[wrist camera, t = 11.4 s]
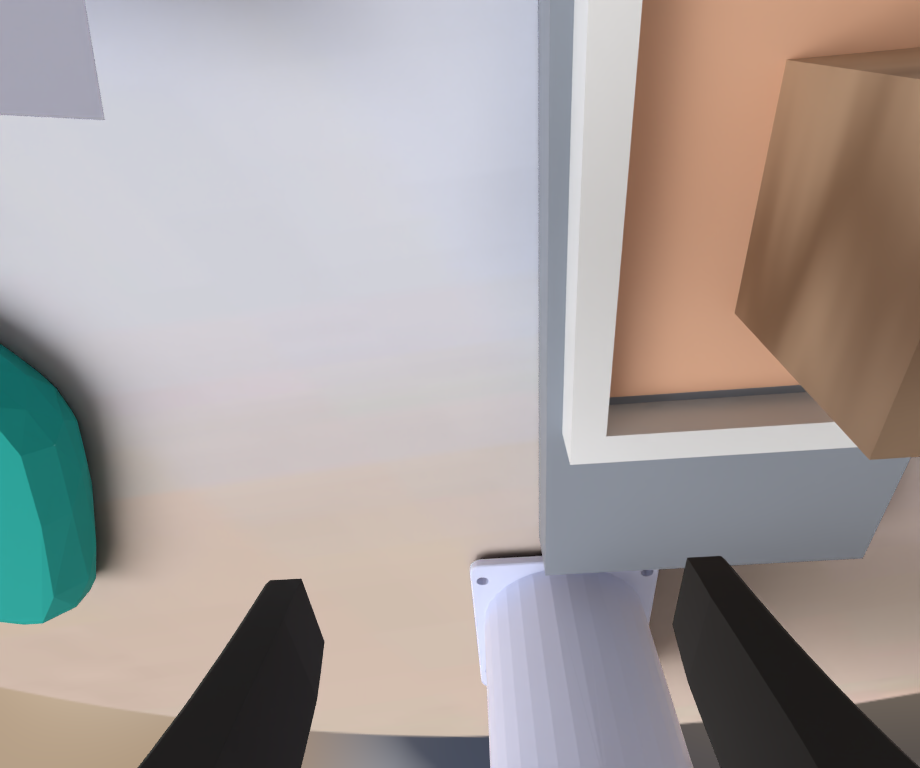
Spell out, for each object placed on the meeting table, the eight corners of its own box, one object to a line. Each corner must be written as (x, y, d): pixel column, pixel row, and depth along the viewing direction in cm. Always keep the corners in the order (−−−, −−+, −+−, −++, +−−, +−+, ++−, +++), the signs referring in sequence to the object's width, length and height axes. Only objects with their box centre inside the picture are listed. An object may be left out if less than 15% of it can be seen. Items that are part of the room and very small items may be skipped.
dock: (833, 518, 23) (887, 592, 20) (539, 535, 23) (550, 609, 21) (1227, -445, 10) (1555, -639, 7) (537, -362, 10) (570, -511, 7)
